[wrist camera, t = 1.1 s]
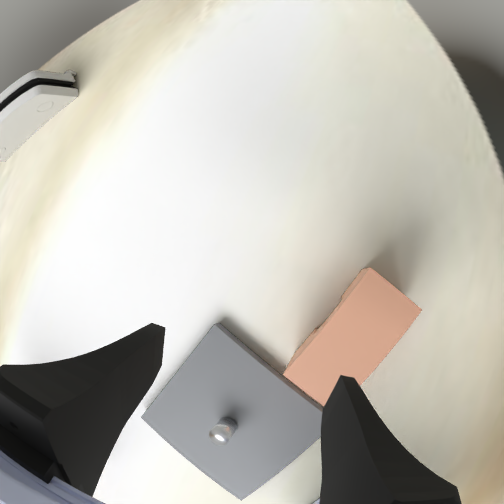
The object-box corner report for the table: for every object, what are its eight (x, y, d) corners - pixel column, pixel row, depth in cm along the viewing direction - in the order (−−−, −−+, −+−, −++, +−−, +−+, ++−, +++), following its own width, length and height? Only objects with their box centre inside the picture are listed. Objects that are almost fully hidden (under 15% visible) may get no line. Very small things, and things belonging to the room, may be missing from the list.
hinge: (78, 70, 32) (28, 53, 23) (86, 97, 33) (35, 85, 23) (5, 136, 36) (-43, 137, 26) (12, 162, 37) (-37, 166, 27)
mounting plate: (336, 416, 22) (335, 422, 21) (244, 494, 23) (241, 500, 22) (218, 322, 25) (214, 324, 24) (146, 413, 26) (140, 417, 25)
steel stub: (241, 425, 23) (233, 437, 21) (230, 436, 23) (221, 448, 21) (226, 412, 23) (216, 424, 21) (215, 424, 23) (205, 435, 21)
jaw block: (402, 302, 22) (422, 309, 16) (334, 384, 22) (333, 413, 17) (361, 269, 22) (370, 267, 17) (294, 353, 23) (282, 374, 18)
